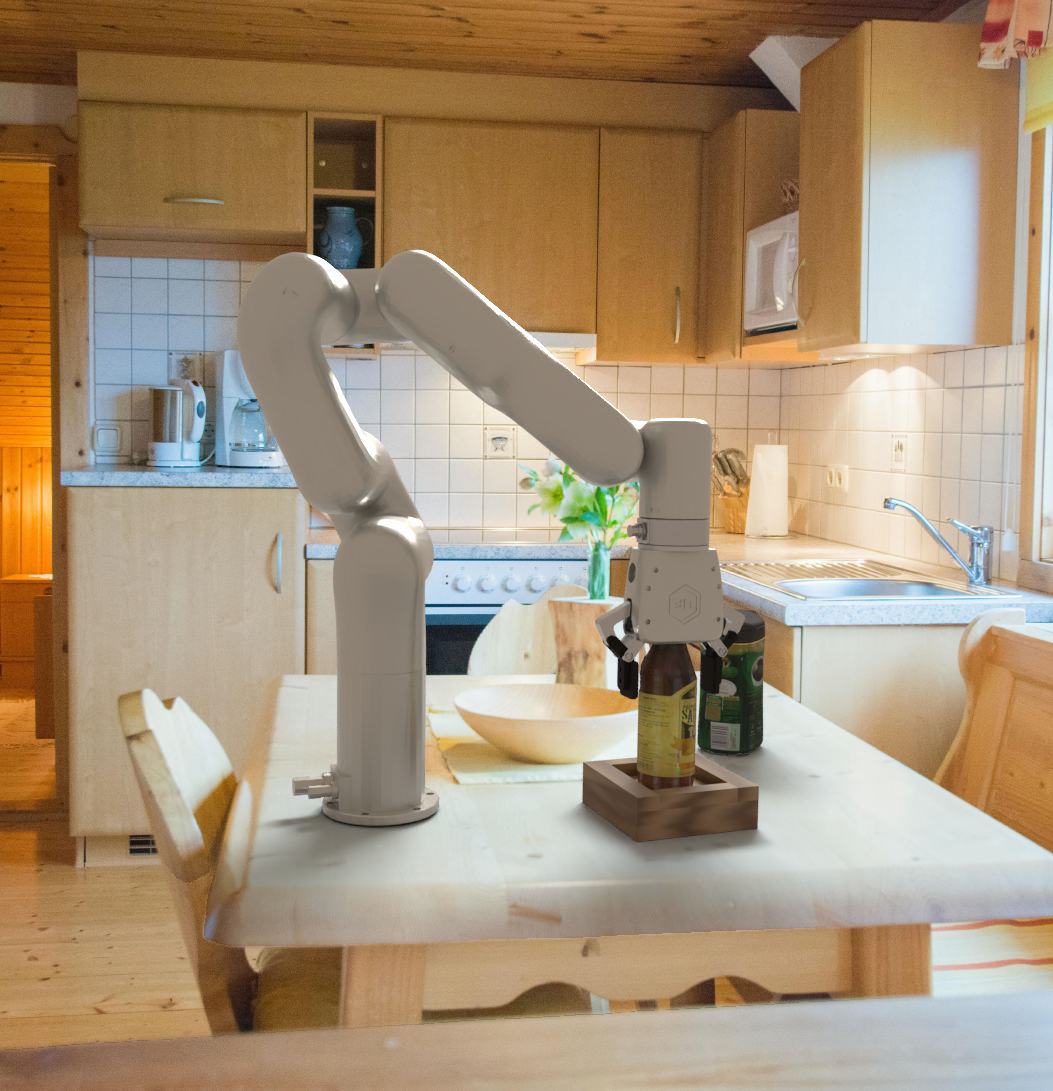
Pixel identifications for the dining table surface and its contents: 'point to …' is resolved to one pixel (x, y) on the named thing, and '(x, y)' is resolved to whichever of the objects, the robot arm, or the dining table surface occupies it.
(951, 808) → the dining table surface
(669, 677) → the sauce bottle
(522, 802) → the dining table surface
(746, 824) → the walnut block
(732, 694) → the coffee jar
